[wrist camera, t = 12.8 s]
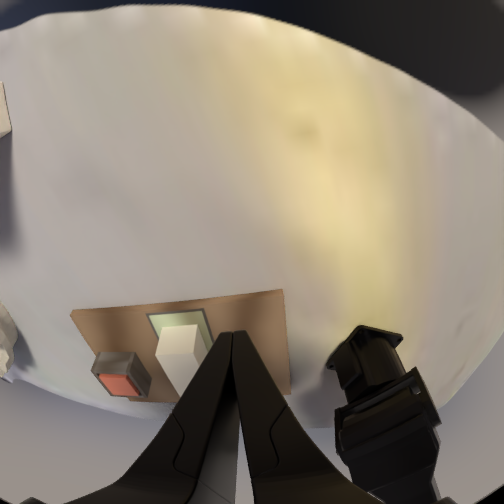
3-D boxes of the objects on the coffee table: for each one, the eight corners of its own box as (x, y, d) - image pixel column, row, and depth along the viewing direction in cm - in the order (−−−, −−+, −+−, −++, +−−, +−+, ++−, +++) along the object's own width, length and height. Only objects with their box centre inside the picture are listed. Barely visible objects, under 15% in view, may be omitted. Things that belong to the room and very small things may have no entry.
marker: (162, 327, 24) (155, 355, 21) (197, 324, 24) (193, 353, 21) (196, 393, 29) (193, 417, 27) (223, 392, 29) (223, 416, 27)
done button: (130, 359, 26) (125, 378, 24) (143, 378, 27) (138, 396, 25) (105, 359, 26) (98, 377, 24) (118, 377, 27) (113, 394, 25)
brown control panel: (282, 289, 23) (288, 318, 20) (290, 388, 31) (293, 412, 28) (72, 310, 24) (59, 334, 21) (131, 396, 32) (126, 417, 29)
